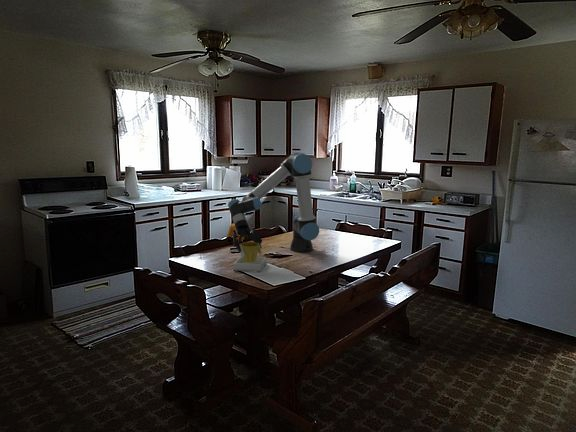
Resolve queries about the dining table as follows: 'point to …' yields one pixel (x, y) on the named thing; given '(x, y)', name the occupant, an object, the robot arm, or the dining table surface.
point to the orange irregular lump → (231, 229)
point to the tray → (249, 264)
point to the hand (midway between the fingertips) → (252, 255)
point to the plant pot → (250, 251)
